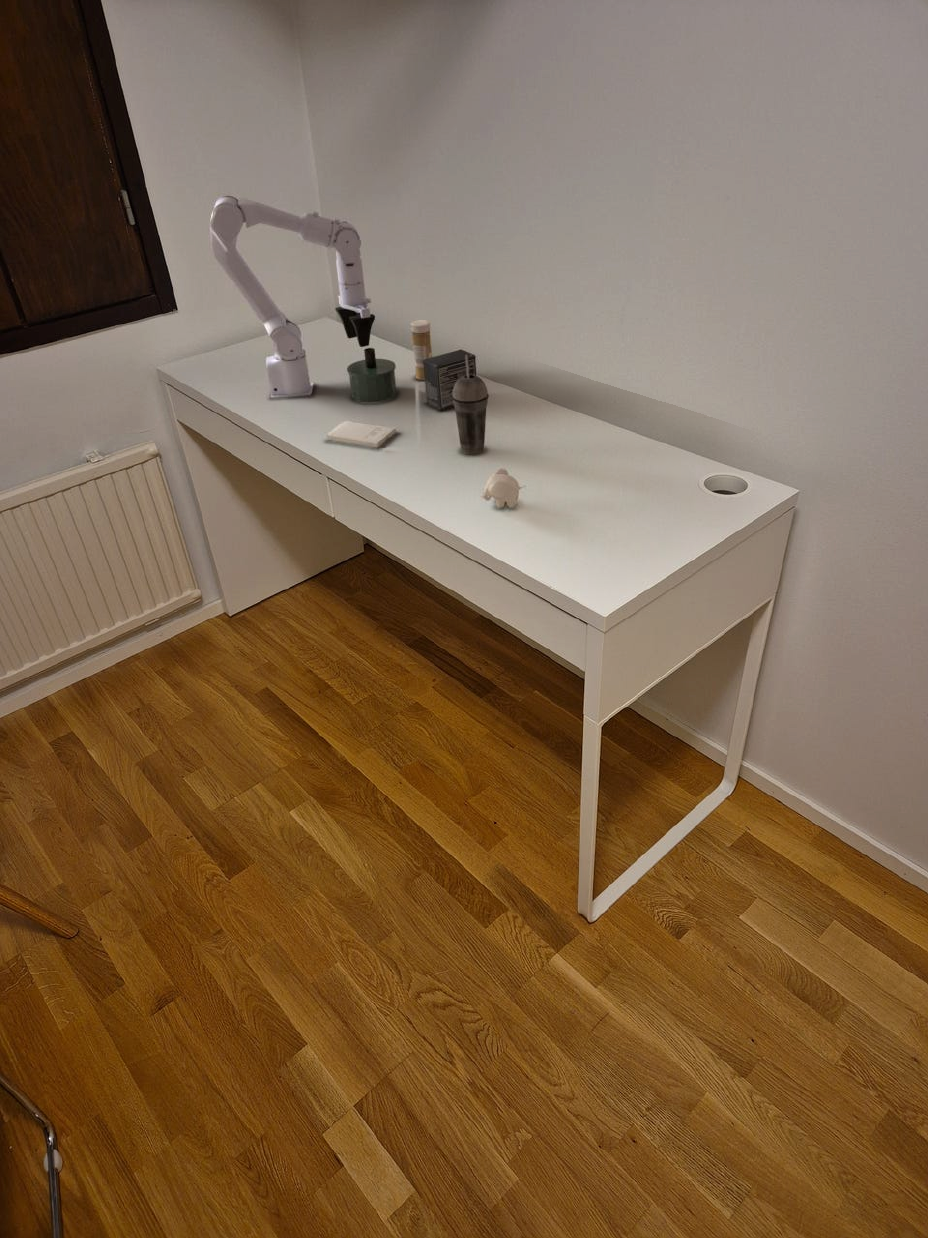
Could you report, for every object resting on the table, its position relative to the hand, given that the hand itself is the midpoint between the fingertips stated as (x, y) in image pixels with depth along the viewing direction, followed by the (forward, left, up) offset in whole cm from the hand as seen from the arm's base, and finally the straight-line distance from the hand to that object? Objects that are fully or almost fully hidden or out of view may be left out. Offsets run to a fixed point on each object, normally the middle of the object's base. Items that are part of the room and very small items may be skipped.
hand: (358, 341), depth 203 cm
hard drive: (+1, -32, -11) cm, 34 cm away
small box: (+21, -15, -11) cm, 28 cm away
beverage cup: (+24, -42, -11) cm, 50 cm away
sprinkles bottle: (+15, +2, -11) cm, 18 cm away
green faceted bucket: (+3, -8, -10) cm, 14 cm away
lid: (+3, -8, -4) cm, 9 cm away
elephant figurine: (+28, -66, -11) cm, 73 cm away
